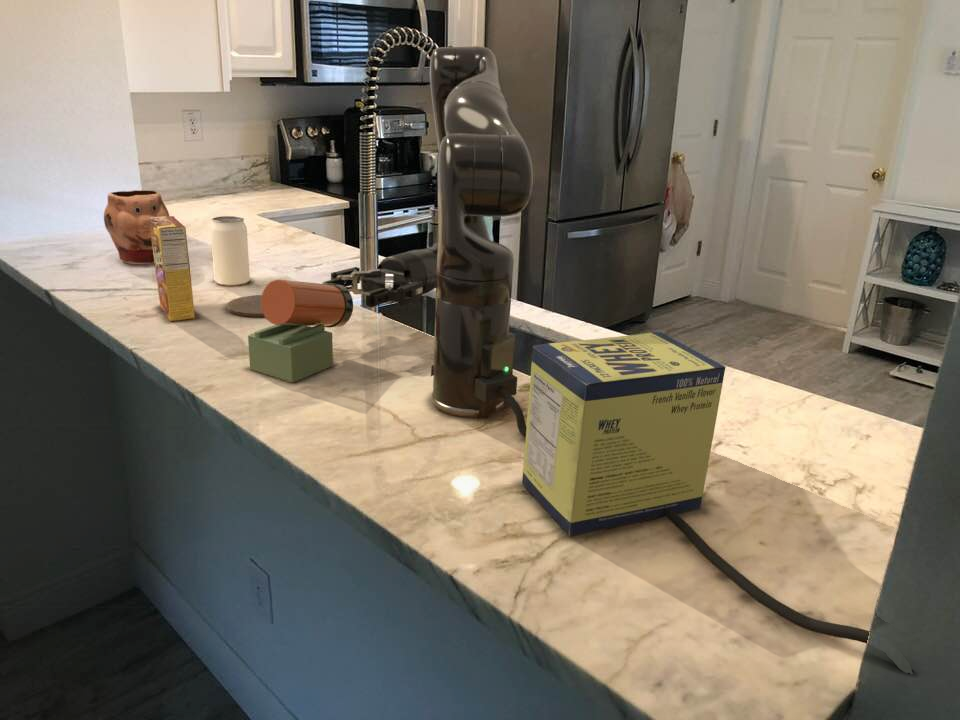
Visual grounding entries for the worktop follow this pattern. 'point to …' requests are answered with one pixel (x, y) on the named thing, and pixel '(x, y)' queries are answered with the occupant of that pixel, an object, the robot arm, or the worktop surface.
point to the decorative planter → (133, 223)
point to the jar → (306, 303)
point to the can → (230, 251)
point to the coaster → (246, 306)
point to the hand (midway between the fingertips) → (345, 295)
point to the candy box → (172, 267)
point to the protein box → (619, 429)
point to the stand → (290, 351)
